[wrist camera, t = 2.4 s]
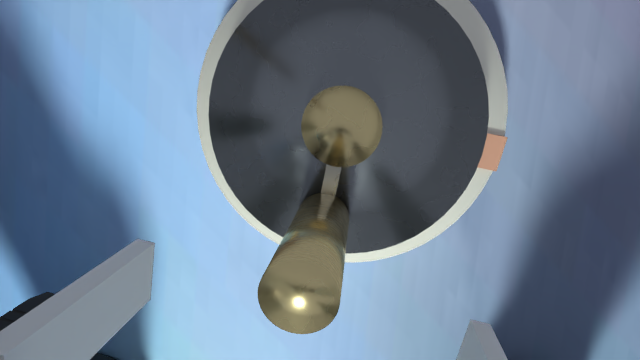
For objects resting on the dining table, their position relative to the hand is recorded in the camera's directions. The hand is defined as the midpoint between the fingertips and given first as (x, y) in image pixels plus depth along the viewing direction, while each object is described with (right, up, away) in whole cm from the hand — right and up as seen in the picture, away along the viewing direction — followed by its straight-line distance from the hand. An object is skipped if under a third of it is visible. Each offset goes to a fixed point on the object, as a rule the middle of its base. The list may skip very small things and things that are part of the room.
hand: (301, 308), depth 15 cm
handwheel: (+2, +9, +11) cm, 14 cm away
